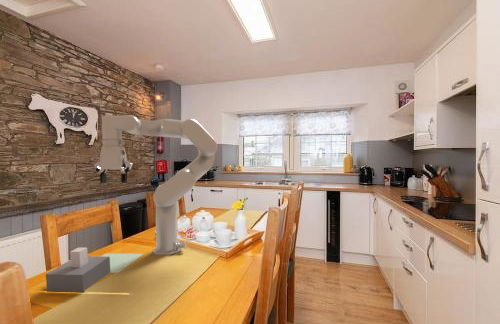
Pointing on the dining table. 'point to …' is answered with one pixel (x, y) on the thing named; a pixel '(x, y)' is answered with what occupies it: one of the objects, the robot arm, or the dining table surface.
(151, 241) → the dining table surface
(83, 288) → the cover
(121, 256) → the sage mat
